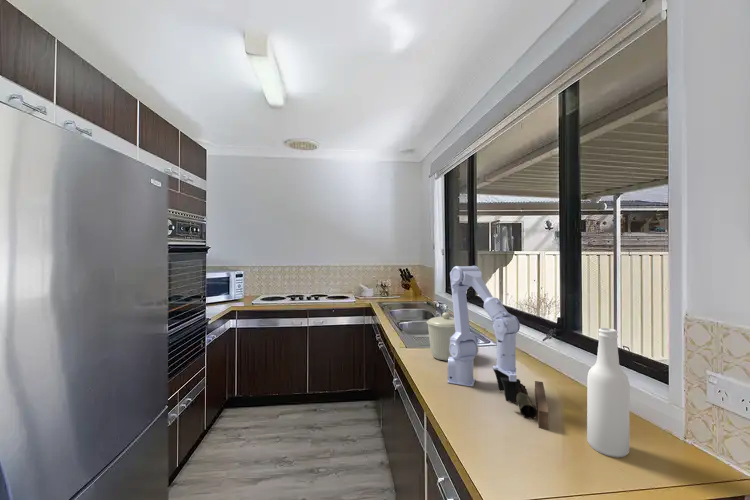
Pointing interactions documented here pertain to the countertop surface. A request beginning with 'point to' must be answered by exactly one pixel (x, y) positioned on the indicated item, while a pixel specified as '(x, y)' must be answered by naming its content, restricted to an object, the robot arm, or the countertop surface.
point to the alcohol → (608, 399)
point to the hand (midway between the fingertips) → (505, 395)
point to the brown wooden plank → (541, 406)
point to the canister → (441, 335)
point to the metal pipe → (524, 402)
